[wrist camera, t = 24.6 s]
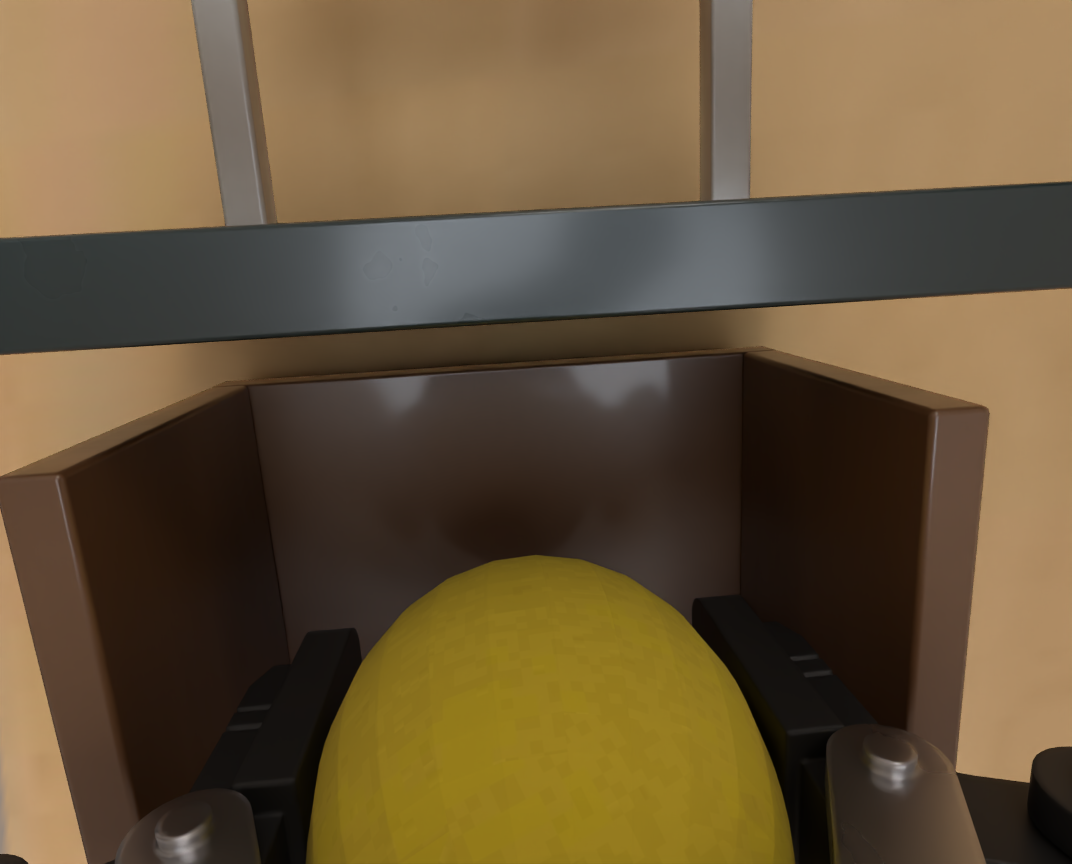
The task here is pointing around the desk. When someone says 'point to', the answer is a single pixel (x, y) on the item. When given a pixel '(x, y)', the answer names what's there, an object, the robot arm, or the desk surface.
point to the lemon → (545, 733)
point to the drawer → (495, 432)
